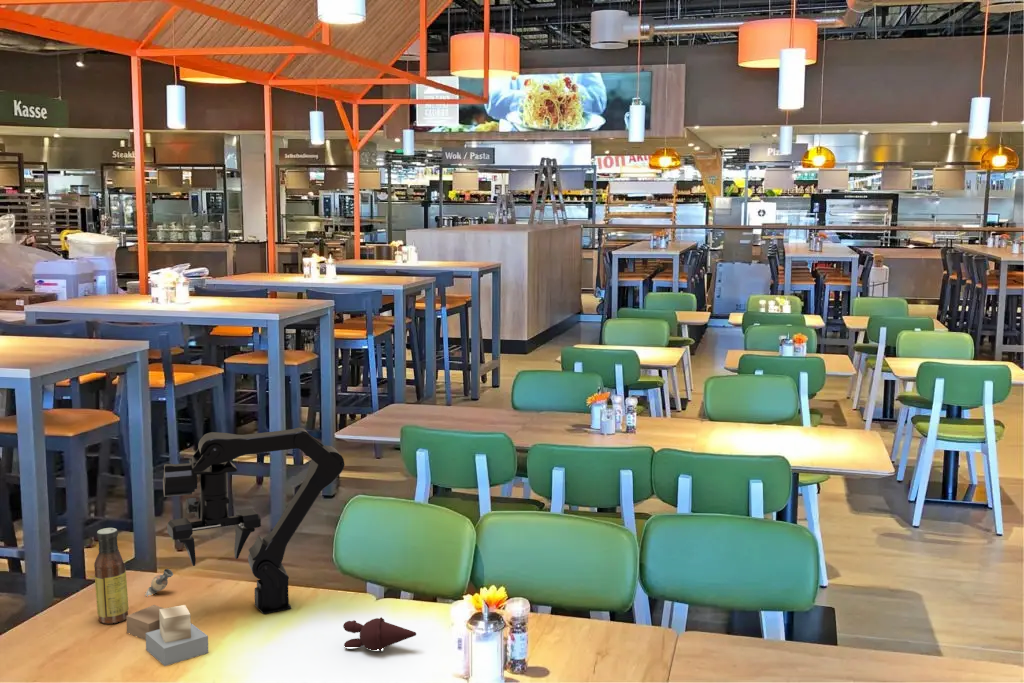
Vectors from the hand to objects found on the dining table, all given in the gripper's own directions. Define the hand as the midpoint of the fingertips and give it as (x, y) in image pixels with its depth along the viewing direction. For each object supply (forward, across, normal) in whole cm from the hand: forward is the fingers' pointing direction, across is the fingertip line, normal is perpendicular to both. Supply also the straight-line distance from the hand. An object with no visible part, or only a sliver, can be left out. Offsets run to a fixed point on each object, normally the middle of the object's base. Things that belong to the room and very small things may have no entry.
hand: (215, 561), depth 217 cm
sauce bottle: (+12, +20, -8) cm, 25 cm away
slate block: (+12, +12, +14) cm, 22 cm away
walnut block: (+12, +14, +2) cm, 19 cm away
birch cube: (+8, +12, +14) cm, 21 cm away
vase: (+12, +8, -17) cm, 23 cm away
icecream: (+12, -24, +33) cm, 42 cm away
